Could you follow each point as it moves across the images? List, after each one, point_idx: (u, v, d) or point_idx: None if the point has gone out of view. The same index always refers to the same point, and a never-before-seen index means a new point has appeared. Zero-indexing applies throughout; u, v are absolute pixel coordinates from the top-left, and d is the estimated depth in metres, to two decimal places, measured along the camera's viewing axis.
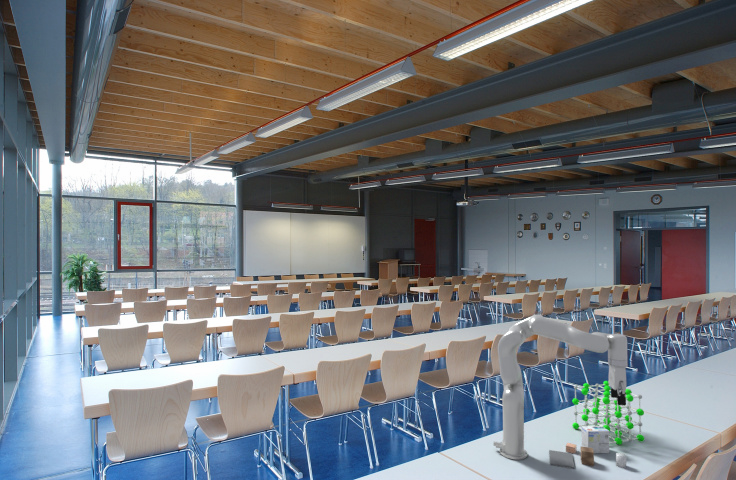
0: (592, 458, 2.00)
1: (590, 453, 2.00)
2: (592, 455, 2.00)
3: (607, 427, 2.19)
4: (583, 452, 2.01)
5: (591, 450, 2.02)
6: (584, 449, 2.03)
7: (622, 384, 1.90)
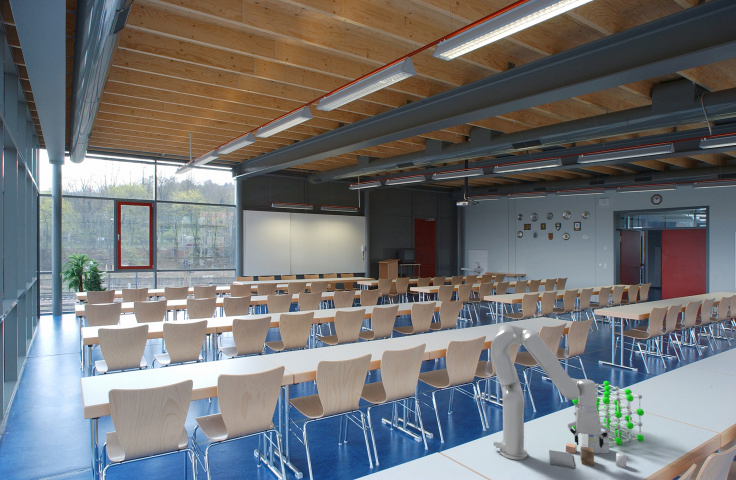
0: (592, 458, 2.00)
1: (590, 453, 2.00)
2: (592, 455, 2.00)
3: (607, 427, 2.19)
4: (583, 452, 2.01)
5: (591, 450, 2.02)
6: (584, 449, 2.03)
7: (604, 426, 2.01)
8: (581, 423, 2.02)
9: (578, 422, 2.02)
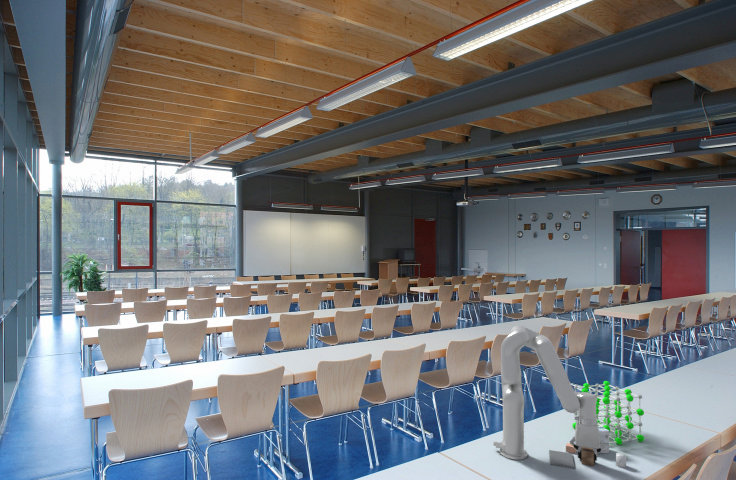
0: (592, 458, 2.00)
1: (590, 453, 2.00)
2: (592, 455, 2.00)
3: (607, 427, 2.19)
4: (583, 452, 2.01)
5: (591, 450, 2.02)
6: (584, 449, 2.03)
7: (601, 442, 2.01)
8: (580, 436, 2.02)
9: (577, 435, 2.02)
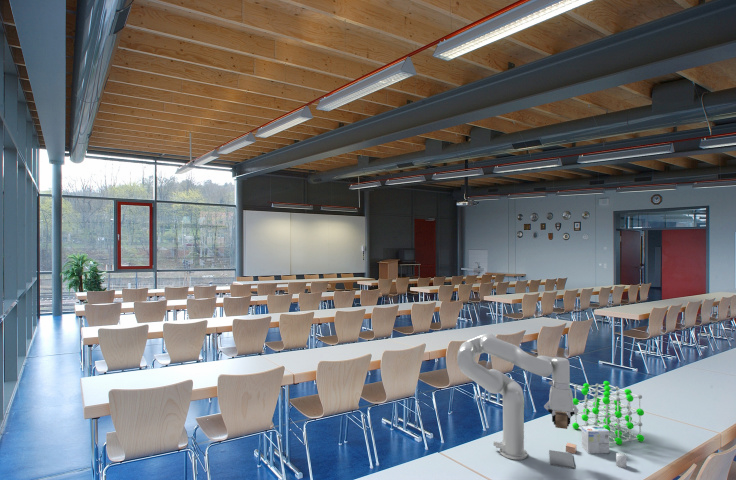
0: (565, 421, 2.03)
1: (564, 416, 2.03)
2: (565, 418, 2.03)
3: (607, 427, 2.19)
4: (557, 415, 2.04)
5: (565, 413, 2.05)
6: (558, 413, 2.06)
7: (575, 406, 2.04)
8: (554, 400, 2.04)
9: (551, 399, 2.05)
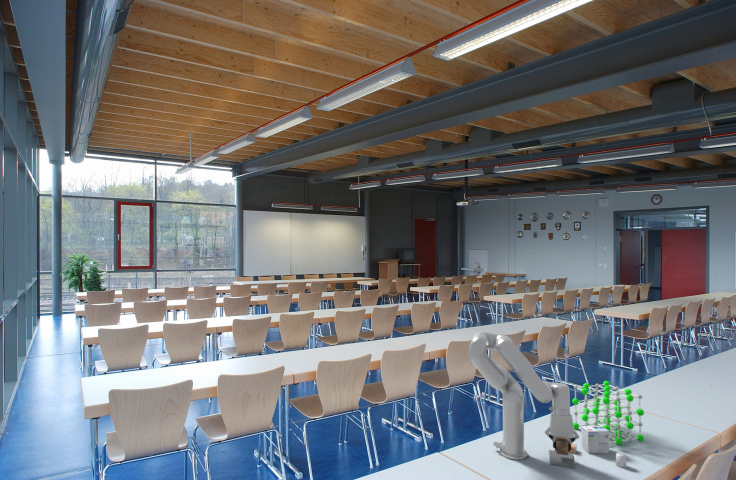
0: (566, 447, 2.02)
1: (564, 443, 2.03)
2: (566, 444, 2.02)
3: (607, 427, 2.19)
4: (558, 442, 2.04)
5: (566, 440, 2.05)
6: (559, 439, 2.06)
7: (575, 432, 2.03)
8: (554, 426, 2.04)
9: (551, 425, 2.05)
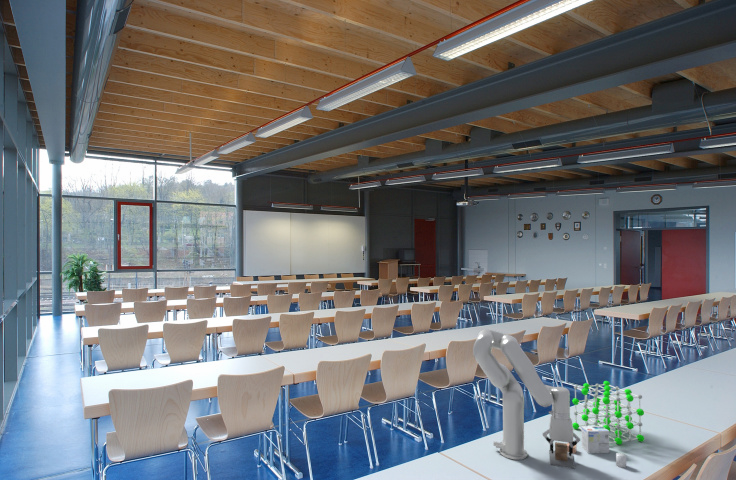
0: (565, 453, 2.03)
1: (564, 449, 2.03)
2: (565, 450, 2.03)
3: (607, 427, 2.19)
4: (557, 448, 2.04)
5: (565, 446, 2.05)
6: (558, 445, 2.06)
7: (576, 435, 2.03)
8: (554, 430, 2.04)
9: (551, 429, 2.05)
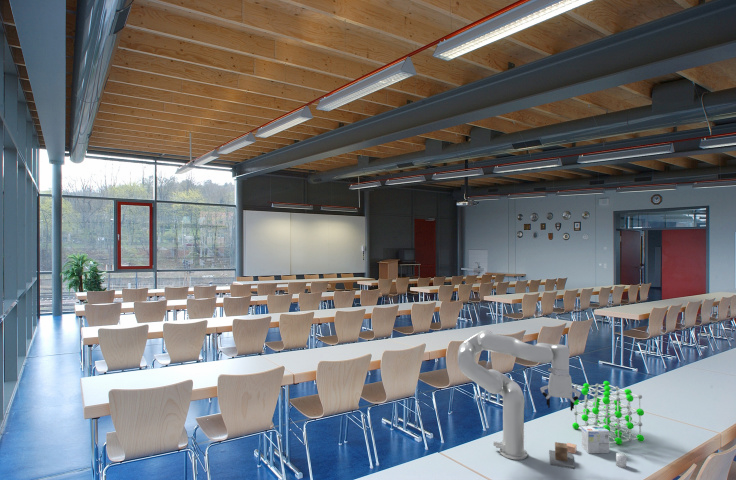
0: (565, 453, 2.03)
1: (564, 449, 2.03)
2: (565, 450, 2.03)
3: (607, 427, 2.19)
4: (557, 448, 2.04)
5: (565, 446, 2.05)
6: (558, 445, 2.06)
7: (575, 390, 2.05)
8: (553, 386, 2.06)
9: (550, 385, 2.06)
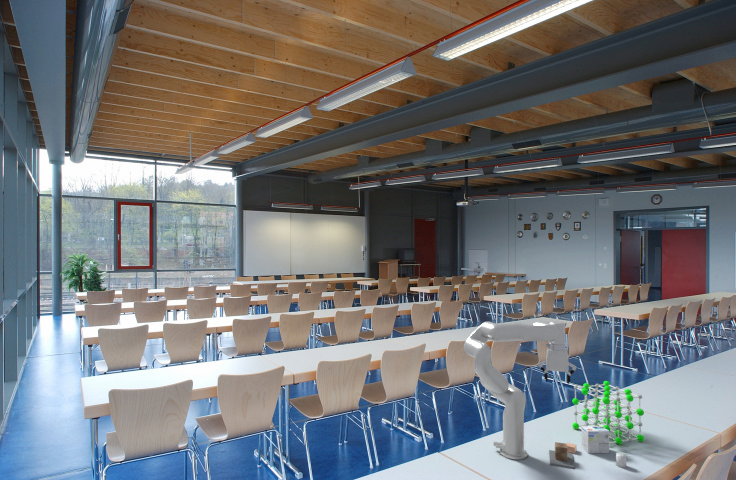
0: (565, 453, 2.03)
1: (564, 449, 2.03)
2: (565, 450, 2.03)
3: (607, 427, 2.19)
4: (557, 448, 2.04)
5: (565, 446, 2.05)
6: (558, 445, 2.06)
7: (571, 364, 2.16)
8: (550, 361, 2.17)
9: (548, 360, 2.17)
